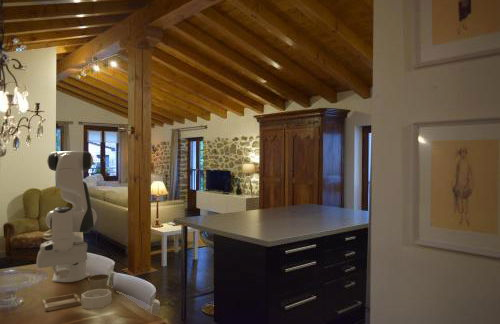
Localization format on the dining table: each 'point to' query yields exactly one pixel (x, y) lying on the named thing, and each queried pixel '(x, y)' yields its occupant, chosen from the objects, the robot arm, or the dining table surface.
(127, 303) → the dining table surface
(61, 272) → the block
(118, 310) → the dining table surface
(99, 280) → the flower pot
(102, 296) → the bowl
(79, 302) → the tray
